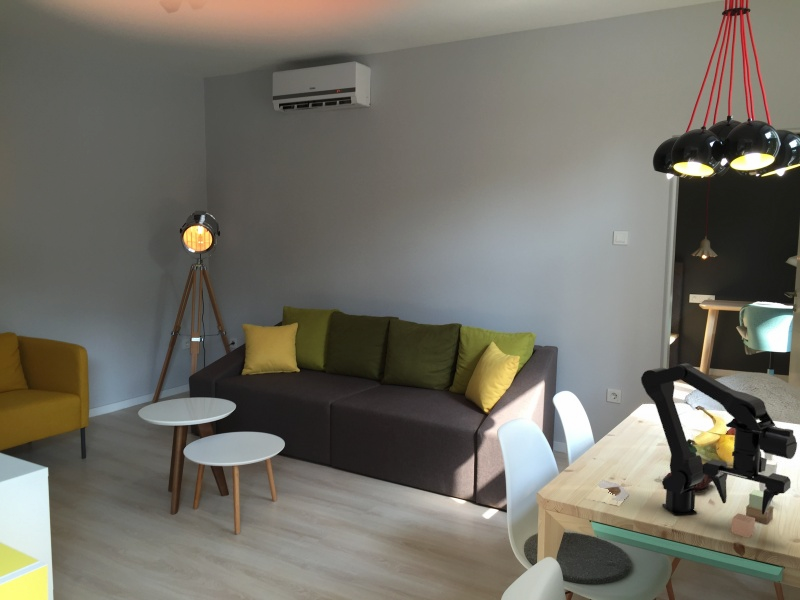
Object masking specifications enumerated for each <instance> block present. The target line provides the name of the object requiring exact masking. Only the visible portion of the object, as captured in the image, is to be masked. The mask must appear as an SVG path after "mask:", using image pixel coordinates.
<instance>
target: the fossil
mask: <svg viewBox="0 0 800 600" xmlns="http://www.w3.org/2000/svg"><path fill="white" fill-rule="evenodd" d="M596 486H599V487H600V488H604V489H608V490H609V492H611V493H612V495H613V494H615V496H616V497H615V498H612V500H616V501H617V503H616V504H618V501H623V500H624V499H626V500H627V499H628V498H629V496H630V494H629V492H628V491H627V490H626V489H625V488H624V487H623V486H621V485H620V484H619V483H617V482H614V481H610V480H605V479H601V481H599V483H598V484H597V485H596ZM609 492H608V493H609ZM611 493H610V494H611Z"/></svg>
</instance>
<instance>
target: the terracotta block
mask: <svg viewBox="0 0 800 600" xmlns="http://www.w3.org/2000/svg"><path fill="white" fill-rule="evenodd" d="M755 525H756V521H755V518H753V517H750V516H746V514H742V513H740V512H739V513H736V514H735V515H734V516H733V517H731V534H733V535H734V534H735V535H737V534H738V536H740V535H741V537H743V536H744V537H745V538H746V539H750V538H751V537H752V536H753V535H754V534H755V529H756V528H755ZM751 535H752V536H751Z"/></svg>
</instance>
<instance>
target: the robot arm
mask: <svg viewBox="0 0 800 600" xmlns="http://www.w3.org/2000/svg"><path fill="white" fill-rule="evenodd" d="M680 380H681V381H682V382H683V383H685V384H688V385H689V386H691V387H693V388H694V389H695V390H697V391H699V392H700V393H703V394H704V395H705V396H707V397H709V398H711V399H712V400H714V401H716V402H718V404H720V405H721V406H722V407H723V408H724V409H725V411H726V412H727V414H729V415H730V416H731V417H732V420H730V422H728V423H726V424H725V426H726V427H727V428H731V429H734V440H733V441H734V442H733V451H732V452H731V456H732V457H733V461H732V467H731V466H728V463H727V462H726V461H724V460H720V459H715V458H711V459H709V460H708V461H706V462H705V463H703V460H702V456H701V455H699V454H698V455H696V456H695V455H694V454H693V453H692V452H691V451H690V449H689V446H688V443H687V440H688V439H687V438H686V437H687V436H686V435H685V431H684V429H683V426H682V422H681V419H680V416H679V414H678V410H677V409H678V408H677V407H676V403H675V401H674V392H675V384H674V383H675V382H678V381H680ZM640 381H641V384H642V387H643V389H644V391H645V393H646V395H647V396H648V397H649V398H650V400H652V401H653V403H654V404H655V408H656V412H657V414H658V417H659V420H660V423H661V426H662V430H663V432H664V435H665V439H666V442H667V445H668V449H669V453H670V462H669V470H670V473H671V476H669V477H668V478H666V479H665V480H663V479H662V481H661V483H662V487H663V490H665V491H666V492H665V503H662V507H663V508H664V509H666V510H667V511H668V512H670V514H672V515H674V516H684V515H686V516H687V515H696V514H697V510H695V508H696V507H695V506H696V505H695V504H696V500H695V499H696V494H695V492H694V489H692V488H694V487H697V484H698V483H699V482H701V481H702V480H703V477H704V474H707V475H708V478H710V479H712V483H713V484H714V486H715V488H716V490H717V492H718V495H719V497H720V499H721V502H722V504H726V503H727V478H728V475H729V476H732V477H736V478H741V479H743V480H744V479H745V480H748V481H752V482H756V483H759V482H760V483H764V484H765V487H766V489H765V490H764V492H763V502H762V514H763V515H764V514H765V513H766V511H767V509H768V507H769V505H770V502H771V500H772V499H773V498H774V497H776V496H779V495H780V494H785V493H786V492H787V491H789V489H791V484H792V483H791V482H792V481H791V479H790V478H789V476H786V475H782V474H778V473H776V474H775V473H772V474H771V475H769V476H764V475H760V474H759V472H760V473H761V472H763V471H765V468H766V462H767V459H765V457H762V452H763V453H764V454H765V453H768V454H772V456H776V457H780V458H783V459H784V458H785V459H787V460H791V459H793V458H794V456H795V454H796V452H797V448H798V442H797V439H796V436H795V435H794V430H793V429H790V428H781V427H777V426H776V423H775V422H774V421H773V418H772V417H771V416H770V414H769V413H768V410H767V408H766V405H765V402H764V401H763V400H762V399H761V398H759V397H757V396H754V395H753V394H749V393H746V392H743V391H738V390H736V389H733V388H731V387H729V386H727V385H725V384H723V383H722V382H720V381H719V380H717V379H715V378H713V377H712V376H709V375H708V374H707V373H704V372H702V371H701V370H699V369H697V368H695V366H693V365H692V364H690V363H682V364H681V363H680V364H678V365H675V366H673V367H670V368H665V367H657V368H653V369H648V370H646V371H644V372H643V373H642V375H641V377H640ZM757 420H758V421H757ZM703 464H704V465H703Z"/></svg>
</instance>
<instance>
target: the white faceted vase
mask: <svg viewBox="0 0 800 600" xmlns="http://www.w3.org/2000/svg"><path fill="white" fill-rule="evenodd" d="M764 458H765V459H767V462H766V468H765V471H763V472H761V473H760V472H759V474H760V475H764V476H769V475H771V474H772V473H775V474H777V468H778V461H776V460H774V459H773V455H772V454H768V453H764ZM758 483H759V484H758V485H759V491H762V492H764V490H765V489H766V487H765V484H764V483H760V482H758ZM770 506H773V507H774V506H775V505H774V500H773V499H772V500H771V504H770Z"/></svg>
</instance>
